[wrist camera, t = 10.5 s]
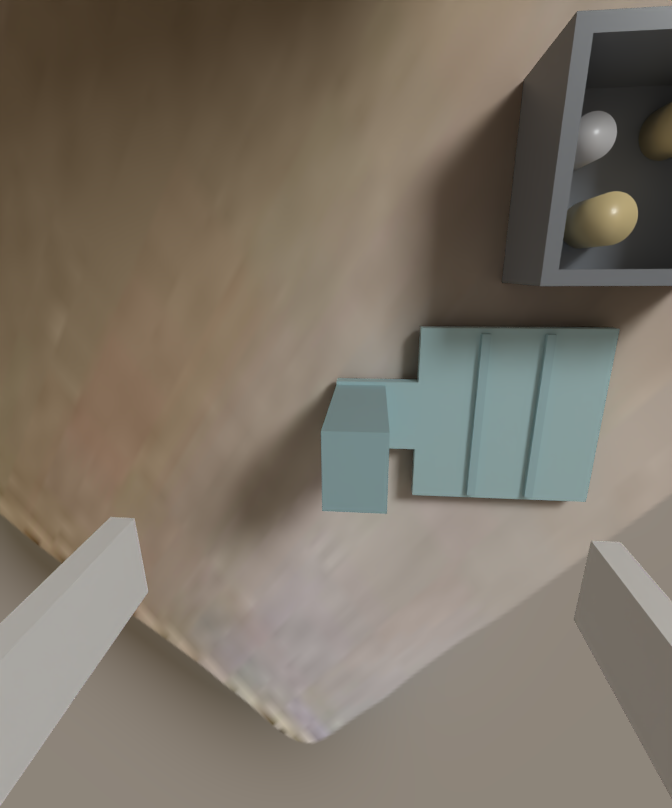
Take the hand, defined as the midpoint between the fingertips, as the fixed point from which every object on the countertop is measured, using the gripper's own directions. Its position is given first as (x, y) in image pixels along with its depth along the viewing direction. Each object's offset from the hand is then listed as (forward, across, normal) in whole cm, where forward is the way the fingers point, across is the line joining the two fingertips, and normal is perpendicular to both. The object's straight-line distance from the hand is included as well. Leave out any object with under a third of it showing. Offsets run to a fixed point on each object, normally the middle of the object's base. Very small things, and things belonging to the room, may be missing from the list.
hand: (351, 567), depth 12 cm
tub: (+16, +13, +12) cm, 24 cm away
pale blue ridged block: (+16, +6, -1) cm, 17 cm away
